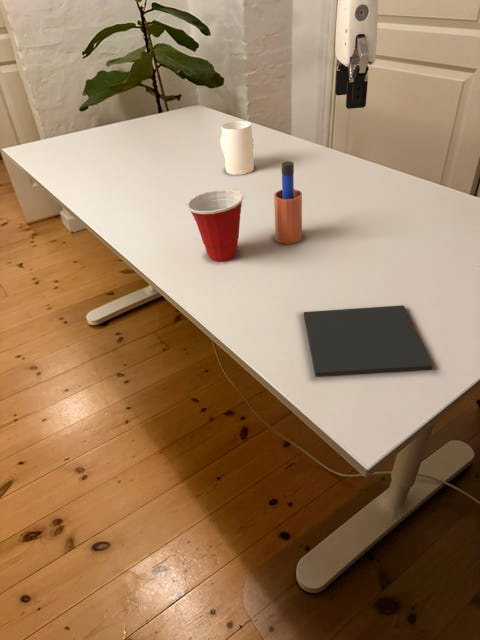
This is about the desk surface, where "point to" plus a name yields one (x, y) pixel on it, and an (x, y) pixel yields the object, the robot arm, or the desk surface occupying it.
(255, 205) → the desk surface
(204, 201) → the plastic cup
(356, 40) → the robot arm
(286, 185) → the marker
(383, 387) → the desk surface
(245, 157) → the mug
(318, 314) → the desk mat
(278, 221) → the pen glass
